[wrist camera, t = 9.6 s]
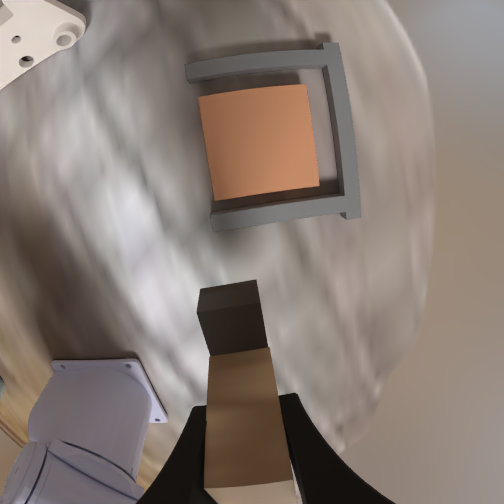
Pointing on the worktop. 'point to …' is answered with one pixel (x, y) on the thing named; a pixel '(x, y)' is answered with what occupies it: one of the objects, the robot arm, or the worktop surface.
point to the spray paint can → (1, 387)
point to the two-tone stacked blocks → (242, 402)
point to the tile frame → (341, 127)
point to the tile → (259, 140)
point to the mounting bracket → (34, 33)
